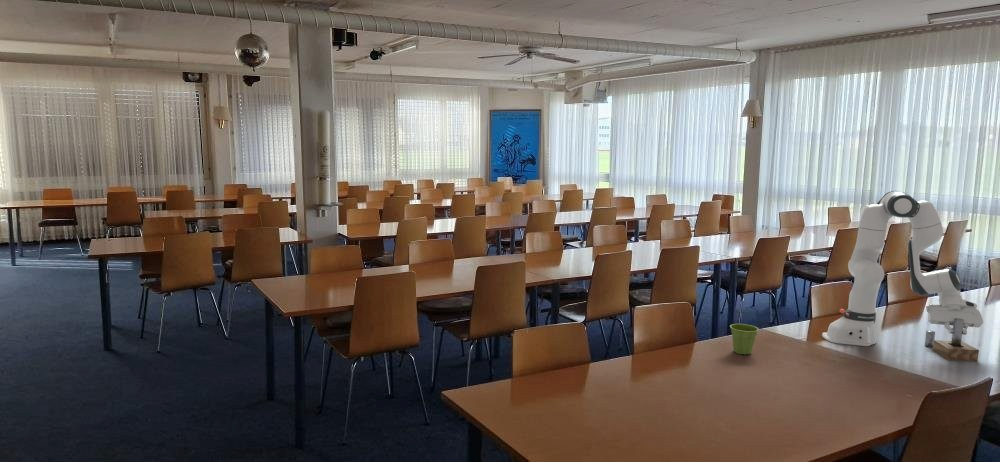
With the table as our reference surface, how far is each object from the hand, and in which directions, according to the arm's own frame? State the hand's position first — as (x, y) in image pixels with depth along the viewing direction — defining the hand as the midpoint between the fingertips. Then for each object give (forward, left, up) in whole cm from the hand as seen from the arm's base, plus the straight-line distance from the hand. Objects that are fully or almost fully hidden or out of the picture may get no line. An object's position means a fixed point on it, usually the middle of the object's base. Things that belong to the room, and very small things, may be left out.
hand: (958, 333), depth 284 cm
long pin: (0, +1, -8) cm, 8 cm away
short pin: (-4, +14, -10) cm, 18 cm away
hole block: (0, +1, -10) cm, 10 cm away
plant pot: (-92, -9, -11) cm, 93 cm away
